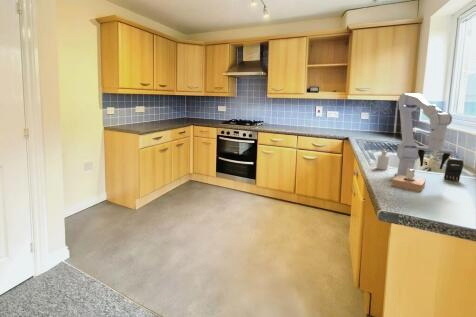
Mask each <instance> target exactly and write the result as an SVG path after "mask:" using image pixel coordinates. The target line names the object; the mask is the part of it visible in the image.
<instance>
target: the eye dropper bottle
mask: <svg viewBox="0 0 476 317" xmlns="http://www.w3.org/2000/svg"><path fill="white" fill-rule="evenodd" d="M387 152H388V151H387V150H386V148H383V150H382V151H381V154H379V155H378V156H377V161H376V166H375V167H376V169H378V170H388V166H389V160H390V159H389V158H390V157H389V155H387V154H388V153H387Z"/></svg>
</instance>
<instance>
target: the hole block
mask: <svg viewBox="0 0 476 317" xmlns="http://www.w3.org/2000/svg"><path fill="white" fill-rule="evenodd" d="M425 185H426V179H422V178H419V177H415V176H414V177H413V181H408V180H406V176H403V175H395V176H394V178H392V180H391V186H393V187H397V188H401V189H407V190H410V191H411V190H412V191H415V192H422V191H423V189H424V187H425Z"/></svg>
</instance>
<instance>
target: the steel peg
mask: <svg viewBox="0 0 476 317" xmlns="http://www.w3.org/2000/svg"><path fill="white" fill-rule="evenodd" d="M415 171H416V170H415V168H414V169H407V174H406V180H408V181H413V177H414V178H415V175H414V174H415Z"/></svg>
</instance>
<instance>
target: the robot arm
mask: <svg viewBox="0 0 476 317" xmlns="http://www.w3.org/2000/svg"><path fill="white" fill-rule="evenodd" d="M397 101H398V111H399V118H400V119H399V120H400V128H401V143H399V144H398V145H397V150H396V157H397V158H398V161H399V162H398V166H397V167H398V168H397V172H396V173H395V174H394V175H395V176H397V175H403V176H406V174H407V169H414V170H415V163H416V161H417V160H419V162H420V163H419V164H420V167H423V165H424V159H425V155H426V154H425V153H427V152H428V153H436V154H442V157H441V158H442V159H441V163H440V165H439V166H440V167H439V170H442V169H443V166H444V165H445V164H446V163H445V162H447V160H448V159H449V158H450V156H454V154H455V153H454V152H455V150H453V149H452V150H451V149H446V148H444V143H445V138H446V132H447V127H448V126H449V125H450V124H451V123H452V121H453V117H452V115H451V113H449V112H444V111H443V110H442V109H440V108H439V107H437V106H438V105H437V104H433V103H432V104H430V103H429V102H428V101H427V100H426V99H425V97H424V95H423V94H422V93H406V92H402V93H401V95H400V96H399V97H398V100H397ZM418 108H420V109H421V110H422V112H423V115H425V117H426V118H428V119H429V123H430V124H429V125H430V126H429V127H430V134H429V138H428V144H427V146H422V145H421V146H420V145H419V144H418V143H417V142H416V141H415V140H414V127H413V118H412V117H413V116H412V113H413V112H414V111H415V112H416V110H417V109H418ZM414 176H415V173H414Z"/></svg>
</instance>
